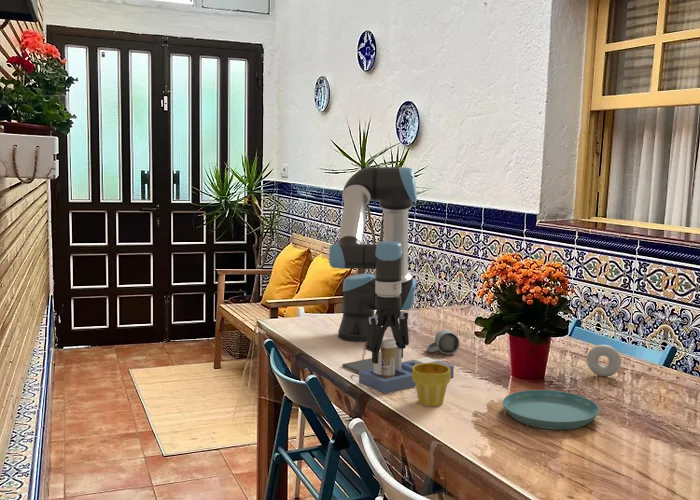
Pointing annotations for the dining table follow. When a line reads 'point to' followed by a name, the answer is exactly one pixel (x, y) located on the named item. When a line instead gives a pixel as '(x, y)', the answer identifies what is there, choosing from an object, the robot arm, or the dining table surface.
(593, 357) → the donut
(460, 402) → the dining table surface
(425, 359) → the cream block
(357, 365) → the mat
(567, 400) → the saucer
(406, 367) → the dish
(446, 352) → the ceramic mug
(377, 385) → the dish
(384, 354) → the sprinkles bottle
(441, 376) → the plant pot
